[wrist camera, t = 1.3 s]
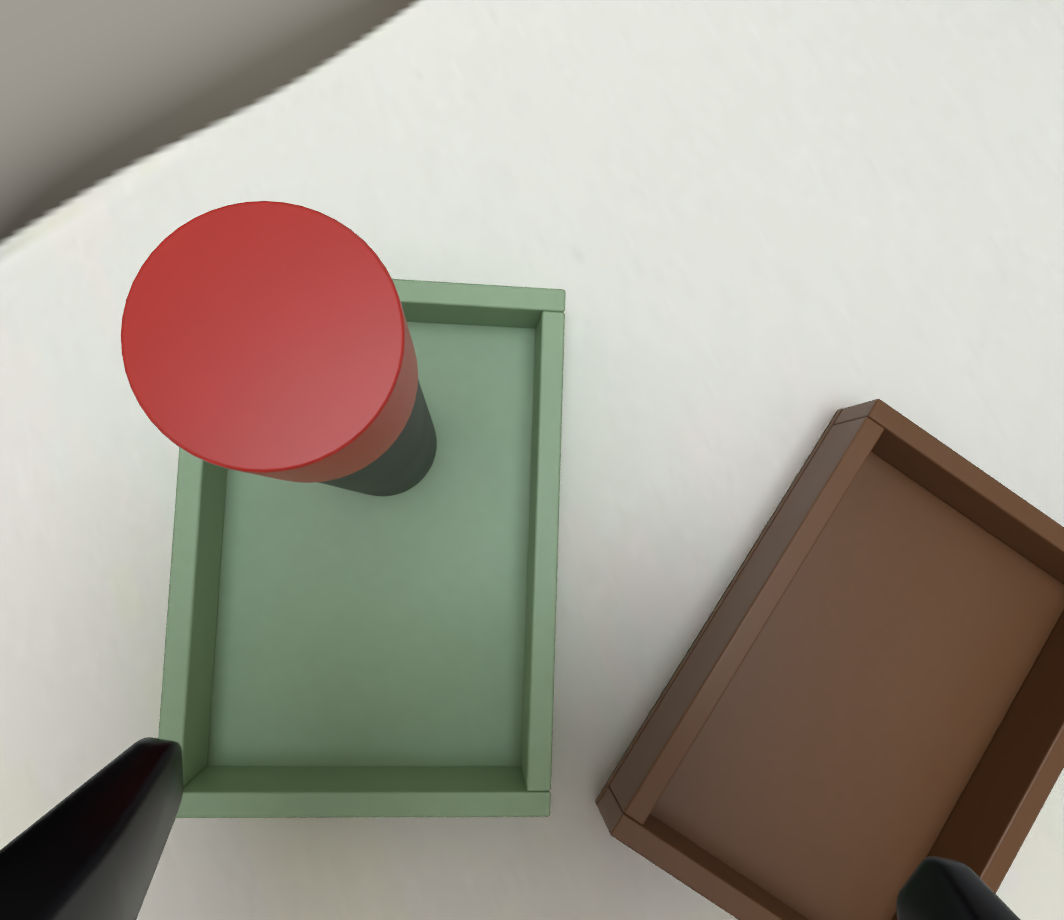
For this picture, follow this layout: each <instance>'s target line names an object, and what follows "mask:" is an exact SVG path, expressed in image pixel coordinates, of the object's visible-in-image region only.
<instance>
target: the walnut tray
mask: <svg viewBox="0 0 1064 920" xmlns="http://www.w3.org/2000/svg"><path fill="white" fill-rule="evenodd" d="M1063 768H1064V527H1063V526H1061V525H1060V524H1058V523H1057V522H1055V521H1054V520H1052V519H1051V518H1050V517H1048V516H1047V515H1045V514H1044V513H1042V512H1041V511H1040V510H1038V509H1037V508H1035V507H1034V506H1032V505H1031V504H1029V503H1028V502H1027V501H1025V500H1024V499H1022V498H1021V497H1019V496H1018V495H1017V494H1015V493H1014V492H1012V491H1011V490H1009V489H1008V488H1006V487H1005V486H1004V485H1002V484H1001V483H999V482H998V481H996V480H995V479H994V478H992V477H991V476H989V475H988V474H986V473H985V472H983V471H982V470H981V469H979V468H978V467H976V466H975V465H973V464H972V463H971V462H969V461H968V460H966V459H965V458H963V457H962V456H960V455H959V454H958V453H956V452H955V451H953V450H952V449H950V448H949V447H948V446H946V445H945V444H943V443H942V442H940V441H939V440H937V439H936V438H935V437H933V436H932V435H930V434H929V433H927V432H926V431H925V430H923V429H922V428H920V427H919V426H917V425H916V424H914V423H913V422H912V421H910V420H909V419H907V418H906V417H904V416H903V415H902V414H900V413H899V412H897V411H896V410H894V409H893V408H891V407H890V406H889V405H887V404H886V403H884V402H883V401H881V400H880V399H876V400H872V401H869V402H865V403H862V404H859V405H855V406H852V407H848V408H845V409H839V410H838V411H837V413H836V414H835V416H834V418H833V419H832V421H831V422H830V424H829V426H828V427H827V429H826V430H825V432H824V434H823V435H822V437H821V438H820V440H819V442H818V443H817V445H816V447H815V448H814V450H813V451H812V453H811V455H810V456H809V458H808V459H807V461H806V463H805V464H804V466H803V467H802V469H801V471H800V472H799V474H798V476H797V477H796V479H795V480H794V482H793V484H792V485H791V487H790V488H789V490H788V492H787V493H786V495H785V496H784V498H783V500H782V501H781V503H780V505H779V506H778V508H777V509H776V511H775V513H774V514H773V516H772V517H771V519H770V521H769V522H768V524H767V525H766V527H765V529H764V530H763V532H762V534H761V535H760V537H759V538H758V540H757V542H756V543H755V545H754V546H753V548H752V550H751V551H750V553H749V554H748V556H747V558H746V559H745V561H744V563H743V564H742V566H741V567H740V569H739V571H738V572H737V574H736V575H735V577H734V579H733V580H732V582H731V583H730V585H729V587H728V588H727V590H726V592H725V593H724V595H723V596H722V598H721V600H720V601H719V603H718V604H717V606H716V608H715V609H714V611H713V612H712V614H711V616H710V617H709V619H708V621H707V622H706V624H705V625H704V627H703V629H702V630H701V632H700V633H699V635H698V637H697V638H696V640H695V641H694V643H693V645H692V646H691V648H690V649H689V651H688V653H687V654H686V656H685V658H684V659H683V661H682V662H681V664H680V666H679V667H678V669H677V670H676V672H675V674H674V675H673V677H672V678H671V680H670V682H669V683H668V685H667V687H666V688H665V690H664V691H663V693H662V695H661V696H660V698H659V699H658V701H657V703H656V704H655V706H654V707H653V709H652V711H651V712H650V714H649V716H648V717H647V719H646V720H645V722H644V724H643V725H642V727H641V728H640V730H639V732H638V733H637V735H636V736H635V738H634V740H633V741H632V743H631V745H630V746H629V748H628V749H627V751H626V753H625V754H624V756H623V757H622V759H621V761H620V762H619V764H618V765H617V767H616V769H615V770H614V772H613V774H612V775H611V777H610V778H609V780H608V782H607V783H606V785H605V786H604V788H603V790H602V791H601V793H600V794H599V796H598V798H597V799H596V801H595V802H596V804H597V806H598V808H599V810H600V813H601V815H602V817H603V819H604V821H605V823H606V826H607V828H608V830H609V832H610V834H611V836H613V837H614V838H616V839H617V840H619V841H621V842H622V843H624V844H625V845H627V846H628V847H630V848H631V849H633V850H634V851H636V852H637V853H639V854H640V855H642V856H643V857H645V858H646V859H648V860H649V861H651V862H652V863H654V864H655V865H657V866H658V867H660V868H661V869H663V870H664V871H666V872H667V873H669V874H670V875H672V876H673V877H675V878H676V879H678V880H679V881H681V882H682V883H684V884H685V885H687V886H688V887H690V888H691V889H693V890H694V891H696V892H698V893H699V894H701V895H702V896H704V897H705V898H707V899H708V900H710V901H711V902H713V903H714V904H716V905H717V906H719V907H720V908H722V909H723V910H725V911H726V912H728V913H729V914H731V915H732V916H734V917H735V918H737V919H738V920H898V918H897V911H896V902H897V896H898V893H899V891H900V889H901V888H902V887H903V885H904V884H905V883H906V881H907V880H908V879H909V877H910V876H911V875H912V873H913V872H914V871H915V869H916V868H917V867H918V865H919V864H920V863H921V861H922V860H923V859H924V858H926V857H929V856H937V857H943V858H950V859H956V860H959V861H961V862H963V863H965V864H966V865H967V866H968V867H970V868H971V869H972V870H973V871H974V872H975V873H976V874H977V875H978V876H979V878H980V879H981V880H982V881H983V882H984V883H985V884H986V885H987V886H988V887H989V888H990V889H991V890H992V891H993V892H994V893H995V894H996V892H997V890H998V888H999V886H1000V885H1001V883H1002V881H1003V879H1004V877H1005V875H1006V873H1007V872H1008V870H1009V868H1010V866H1011V864H1012V862H1013V860H1014V859H1015V857H1016V855H1017V853H1018V851H1019V849H1020V847H1021V846H1022V844H1023V842H1024V840H1025V838H1026V836H1027V834H1028V833H1029V831H1030V829H1031V827H1032V825H1033V823H1034V821H1035V820H1036V818H1037V816H1038V814H1039V812H1040V810H1041V808H1042V807H1043V805H1044V803H1045V801H1046V799H1047V797H1048V795H1049V794H1050V792H1051V790H1052V788H1053V786H1054V784H1055V783H1056V781H1057V779H1058V777H1059V775H1060V773H1061V771H1062V770H1063Z"/></svg>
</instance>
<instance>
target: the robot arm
mask: <svg viewBox="0 0 1064 920" xmlns="http://www.w3.org/2000/svg"><path fill="white" fill-rule="evenodd" d="M183 788H184V785H183V762H182V748H181V746H180V744H179V743H178V742H176V741H171V740H164V739H158V738H151V737H148V738H143V739H141V740H139V741H137V742H136V743H134V744H133V745H132V746H131V747H129V748H128V749H127V750H125V751H124V752H123V753H122V754H120V755H119V756H118V757H117V758H115V759H114V760H113V761H112V762H110V763H109V764H108V765H107V766H105V767H104V768H103V769H102V770H100V771H99V772H98V773H97V774H95V775H94V776H93V777H92V778H90V779H89V780H88V781H87V782H85V783H84V784H83V785H82V786H80V787H79V788H78V789H77V790H75V791H74V792H73V793H72V794H70V795H69V796H68V797H66V798H65V799H64V800H63V801H61V802H60V803H59V804H58V805H56V806H55V807H54V808H53V809H51V810H50V811H49V812H48V813H46V814H45V815H44V816H43V817H41V818H40V819H39V820H38V821H36V822H35V823H34V824H33V825H31V826H30V827H29V828H28V829H26V830H25V831H24V832H23V833H21V834H20V835H19V836H18V837H16V838H15V839H14V840H13V841H11V842H10V843H9V844H7V845H6V846H5V847H4V848H2V849H1V850H0V920H136V919H137V916H138V913H139V911H140V908H141V906H142V903H143V901H144V898H145V895H146V893H147V890H148V888H149V885H150V882H151V880H152V877H153V875H154V872H155V870H156V867H157V864H158V862H159V859H160V857H161V854H162V851H163V849H164V846H165V844H166V841H167V839H168V836H169V833H170V831H171V828H172V826H173V823H174V821H175V818H176V815H177V813H178V810H179V807H180V804H181V800H182V796H183ZM896 911H897V918H898V920H1020V919H1019V918H1018V917H1017V916H1016V915H1015V914H1014V913H1013V912H1012V911H1011V910H1010V908H1009V907H1008V906H1007V905H1006V904H1005V903H1004V902H1003V901H1002V900H1001V899H1000V898H999V897H998V896H997V895H996V894H995V893H994V892H993V891H992V890H991V889H990V888H989V887H988V886H987V885H986V884H985V883H984V882H983V881H982V880H981V879H980V878H979V876H978V875H977V874H976V873H975V872H974V871H973V870H972V869H971V868H970V867H968V866H967V865H966V864H965V863H963V862H961V861H959V860H956V859H950V858H943V857H937V856H929V857H926V858H924V859H923V860H922V861H921V863H920V864H919V865H918V867H917V868H916V869H915V871H914V872H913V873H912V875H911V876H910V877H909V879H908V880H907V881H906V883H905V884H904V885H903V887H902V888H901V889H900V891H899V893H898V896H897V902H896Z"/></svg>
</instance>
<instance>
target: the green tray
mask: <svg viewBox="0 0 1064 920" xmlns="http://www.w3.org/2000/svg"><path fill="white" fill-rule="evenodd" d="M392 280H393V282H394V284H395V287H396V290H397V293H398V295H399V298H400V301H401V304H402V308H403V311H404V315H405V318H406V321H407V325H408V328H409V332H410V335H411V338H412V342H413V345H414V349H415V354H416V358H417V367H418V379H419V382H420V385H421V389H422V392H423V395H424V398H425V401H426V404H427V407H428V410H429V413H430V416H431V419H432V422H433V425H434V428H435V432H436V439H437V448H436V454H435V458H434V461H433V464H432V466H431V468H430V470H429V471H428V473H427V474H426V475H425V477H424V478H423V479H422V480H421V481H420V482H419V483H418V484H417V485H415V486H414V487H412V488H411V489H409V490H407V491H405V492H403V493H400V494H397V495H392V496H373V495H368V494H364V493H359V492H355V491H351V490H347V489H343V488H339V487H335V486H330V485H326V484H322V483H318V482H314V483H301V482H291V481H285V480H279V479H275V478H270V477H265V476H260V475H255V474H250V473H246V472H241V471H236V470H231V469H227V468H224V467H220V466H217V465H214V464H211V463H208V462H206V461H204V460H202V459H199V458H197V457H195V456H193V455H191V454H190V453H188V452H187V451H185V450H183V449H182V448H180V447H179V461H178V475H177V489H176V502H175V516H174V530H173V544H172V558H171V571H170V585H169V599H168V613H167V627H166V640H165V654H164V668H163V682H162V695H161V709H160V723H159V737H158V739H164V740H171V741H176V742H178V743H179V744H180V746H181V748H182V762H183V785H184V788H183V796H182V800H181V804H180V807H179V810H178V813H177V815H176V818H273V817H548V816H549V815H550V797H551V793H550V789H551V762H552V728H553V694H554V660H555V627H556V593H557V559H558V526H559V492H560V458H561V424H562V391H563V357H564V323H565V314H564V311H565V290H562V289H546V288H529V287H513V286H497V285H481V284H464V283H448V282H432V281H415V280H399V279H392Z"/></svg>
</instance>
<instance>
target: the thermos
mask: <svg viewBox="0 0 1064 920" xmlns="http://www.w3.org/2000/svg"><path fill="white" fill-rule="evenodd" d="M121 345H122V356H123V361H124V367H125V372H126V374H127V377H128V380H129V383H130V386H131V389H132V391H133V393H134V395H135V397H136V399H137V401H138V403H139V405H140V406H141V408H142V409H143V410H144V412H145V413H146V415H147V416H148V418H149V419H150V420H151V421H152V423H153V424H154V425H155V426H156V427H157V428H158V429H159V430H160V431H161V432H162V433H163V434H164V435H165V436H166V437H167V438H169V439H170V440H171V441H172V442H173V443H175V444H176V445H177V446H179V447H180V448H182V449H183V450H185V451H187V452H188V453H190V454H191V455H193V456H195V457H197V458H199V459H202V460H204V461H206V462H208V463H211V464H214V465H217V466H220V467H224V468H227V469H231V470H236V471H241V472H246V473H250V474H255V475H260V476H265V477H270V478H275V479H279V480H285V481H291V482H301V483H314V482H318V483H322V484H326V485H330V486H335V487H339V488H343V489H347V490H351V491H355V492H359V493H364V494H368V495H373V496H392V495H397V494H400V493H403V492H405V491H407V490H409V489H411V488H412V487H414V486H415V485H417V484H418V483H419V482H420V481H421V480H422V479H423V478H424V477H425V475H426V474H427V473H428V471H429V470H430V468H431V466H432V464H433V461H434V458H435V454H436V448H437V439H436V432H435V428H434V425H433V422H432V419H431V416H430V413H429V410H428V407H427V404H426V401H425V398H424V395H423V392H422V389H421V385H420V382H419V379H418V367H417V358H416V354H415V349H414V345H413V342H412V338H411V335H410V332H409V328H408V325H407V321H406V318H405V315H404V311H403V308H402V304H401V301H400V298H399V295H398V293H397V290H396V287H395V284H394V282H393V280H392V278H391V277H390V275H389V273H388V271H387V269H386V267H385V266H384V264H383V263H382V262H381V260H380V259H379V257H378V256H377V255H376V253H375V252H374V251H373V250H372V249H371V248H370V247H369V246H368V245H367V244H366V242H365V241H364V240H362V239H361V238H360V237H359V236H358V235H357V234H355V233H354V232H353V231H352V230H351V229H349V228H348V227H346V226H344V225H343V224H341V223H340V222H338V221H337V220H335V219H333V218H331V217H329V216H327V215H325V214H322V213H320V212H318V211H315V210H312V209H309V208H306V207H303V206H299V205H294V204H289V203H283V202H270V201H258V202H244V203H238V204H233V205H228V206H224V207H221V208H218V209H215V210H211V211H209V212H207V213H205V214H202V215H200V216H198V217H196V218H194V219H192V220H191V221H189V222H187V223H186V224H184V225H182V226H181V227H179V228H178V229H177V230H175V231H174V232H173V233H172V234H170V235H169V236H168V237H167V238H165V239H164V240H163V241H162V242H161V243H160V244H159V246H158V247H157V248H156V249H155V250H154V251H153V252H152V253H151V254H150V256H149V257H148V259H147V260H146V261H145V263H144V264H143V265H142V267H141V269H140V270H139V272H138V274H137V276H136V278H135V280H134V281H133V284H132V286H131V289H130V291H129V294H128V297H127V299H126V304H125V308H124V313H123V317H122V328H121Z"/></svg>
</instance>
